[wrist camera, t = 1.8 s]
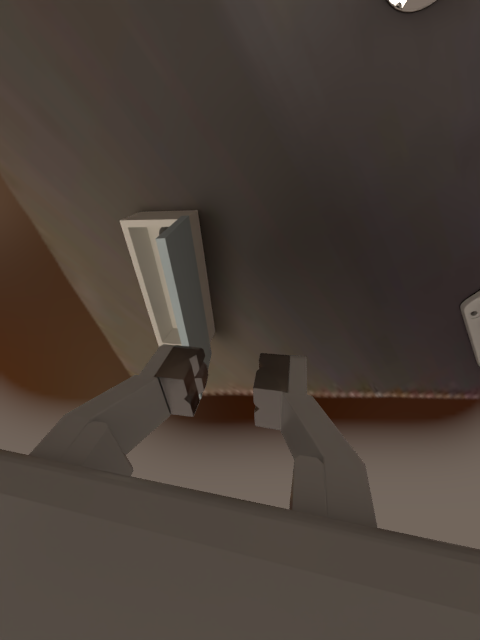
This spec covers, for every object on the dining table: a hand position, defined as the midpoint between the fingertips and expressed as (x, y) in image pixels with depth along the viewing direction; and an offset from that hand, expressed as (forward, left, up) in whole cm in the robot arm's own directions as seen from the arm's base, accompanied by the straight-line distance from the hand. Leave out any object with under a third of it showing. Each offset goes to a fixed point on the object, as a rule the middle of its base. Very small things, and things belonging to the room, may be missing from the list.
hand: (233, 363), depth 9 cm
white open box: (-6, +22, -34) cm, 41 cm away
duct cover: (-8, +17, -23) cm, 29 cm away
